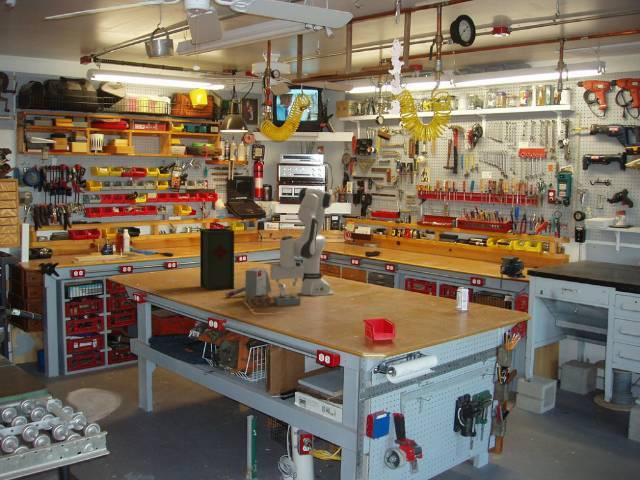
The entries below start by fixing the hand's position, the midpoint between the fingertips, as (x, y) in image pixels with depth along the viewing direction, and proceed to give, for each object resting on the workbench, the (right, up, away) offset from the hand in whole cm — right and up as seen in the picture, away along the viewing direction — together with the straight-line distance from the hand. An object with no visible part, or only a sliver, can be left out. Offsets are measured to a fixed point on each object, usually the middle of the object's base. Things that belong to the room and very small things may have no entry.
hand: (286, 286), depth 391 cm
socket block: (0, -12, +3) cm, 12 cm away
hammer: (-27, -9, +31) cm, 42 cm away
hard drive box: (-20, -10, +16) cm, 28 cm away
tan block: (+4, -10, +4) cm, 12 cm away
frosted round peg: (-3, -11, +2) cm, 12 cm away
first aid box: (-51, -5, +57) cm, 77 cm away
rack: (-16, -12, -1) cm, 20 cm away
